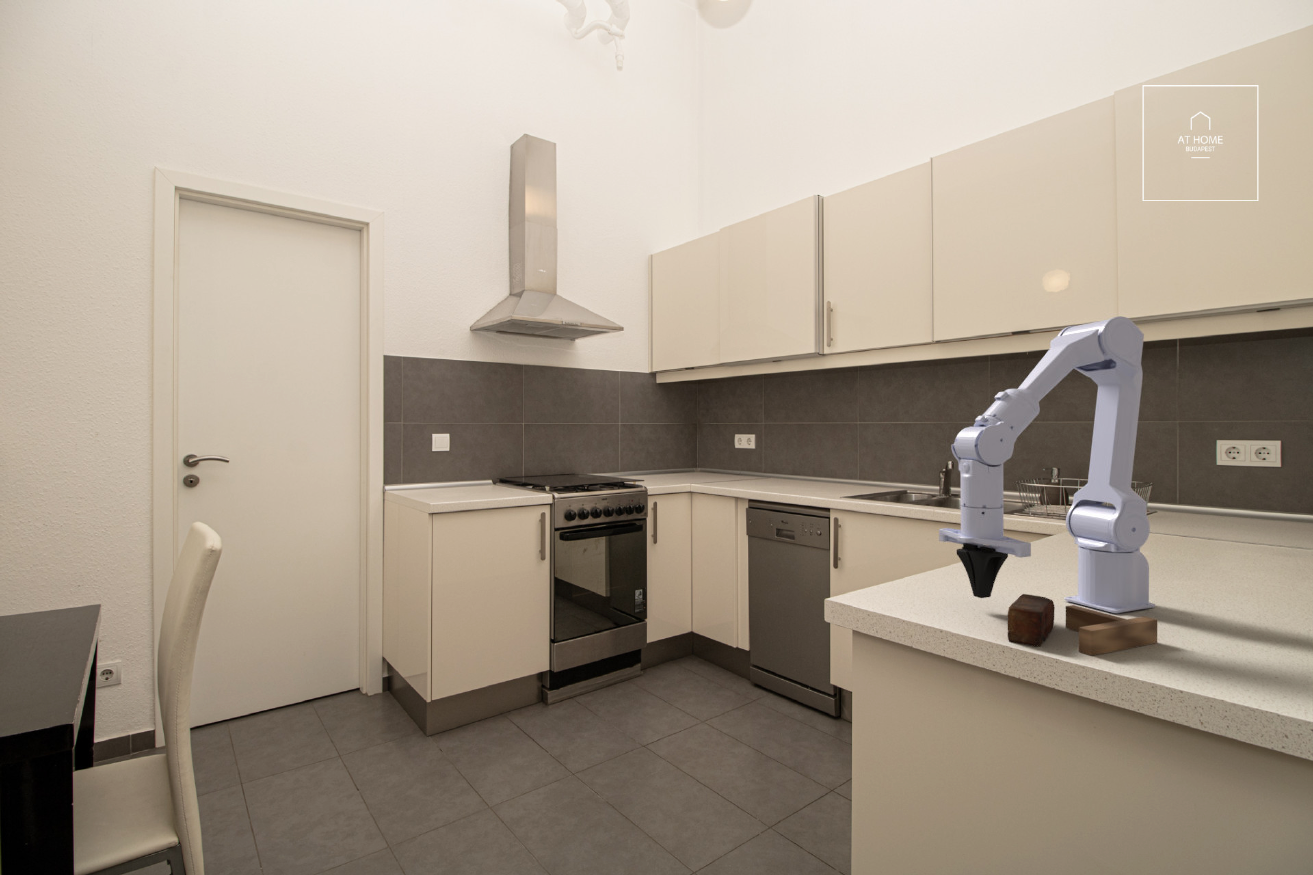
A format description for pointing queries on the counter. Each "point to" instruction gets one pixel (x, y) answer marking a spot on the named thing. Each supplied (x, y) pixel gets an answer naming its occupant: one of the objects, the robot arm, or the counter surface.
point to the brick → (1030, 620)
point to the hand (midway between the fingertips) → (982, 596)
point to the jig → (1109, 630)
